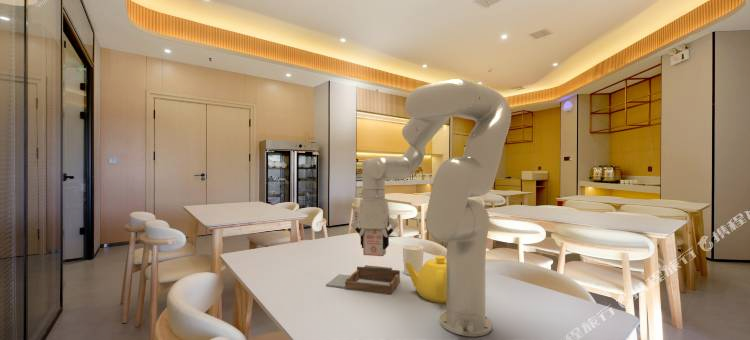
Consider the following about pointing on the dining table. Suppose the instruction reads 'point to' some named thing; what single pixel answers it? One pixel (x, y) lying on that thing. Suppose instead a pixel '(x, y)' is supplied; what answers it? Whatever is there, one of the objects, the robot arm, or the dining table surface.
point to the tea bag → (373, 242)
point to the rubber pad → (338, 281)
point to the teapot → (430, 279)
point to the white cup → (413, 257)
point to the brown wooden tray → (373, 274)
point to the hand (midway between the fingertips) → (374, 247)
